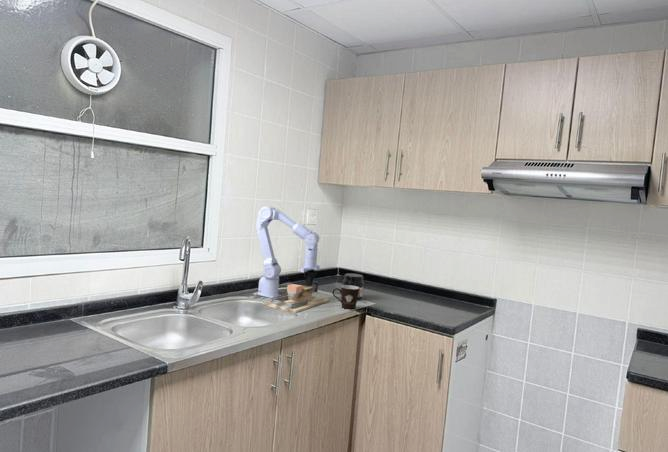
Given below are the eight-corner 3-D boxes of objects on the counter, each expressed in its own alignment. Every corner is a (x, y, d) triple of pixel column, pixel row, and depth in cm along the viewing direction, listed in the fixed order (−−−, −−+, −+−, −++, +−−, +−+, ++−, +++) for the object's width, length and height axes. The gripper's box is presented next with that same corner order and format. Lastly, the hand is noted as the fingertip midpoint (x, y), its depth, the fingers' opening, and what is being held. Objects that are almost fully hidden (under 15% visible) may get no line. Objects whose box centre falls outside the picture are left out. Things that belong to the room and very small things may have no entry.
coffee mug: (360, 308, 219) (362, 287, 219) (352, 311, 212) (354, 290, 211) (339, 303, 225) (341, 283, 225) (330, 306, 218) (332, 285, 217)
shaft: (286, 296, 215) (286, 285, 214) (308, 290, 232) (309, 280, 231) (295, 298, 212) (295, 287, 212) (317, 291, 229) (318, 281, 229)
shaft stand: (264, 305, 211) (265, 289, 210) (300, 295, 236) (301, 280, 235) (295, 312, 203) (296, 295, 202) (328, 301, 228) (330, 286, 227)
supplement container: (365, 300, 236) (367, 277, 236) (346, 300, 233) (348, 277, 232) (357, 295, 246) (359, 273, 245) (338, 295, 242) (340, 273, 241)
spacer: (287, 291, 215) (287, 285, 215) (293, 290, 219) (293, 284, 219) (295, 293, 212) (296, 287, 212) (302, 292, 217) (302, 285, 217)
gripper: (309, 260, 217) (307, 288, 218) (325, 257, 229) (323, 284, 230) (297, 258, 220) (295, 286, 221) (313, 255, 233) (311, 282, 234)
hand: (308, 285), depth 226 cm, fingers closed
